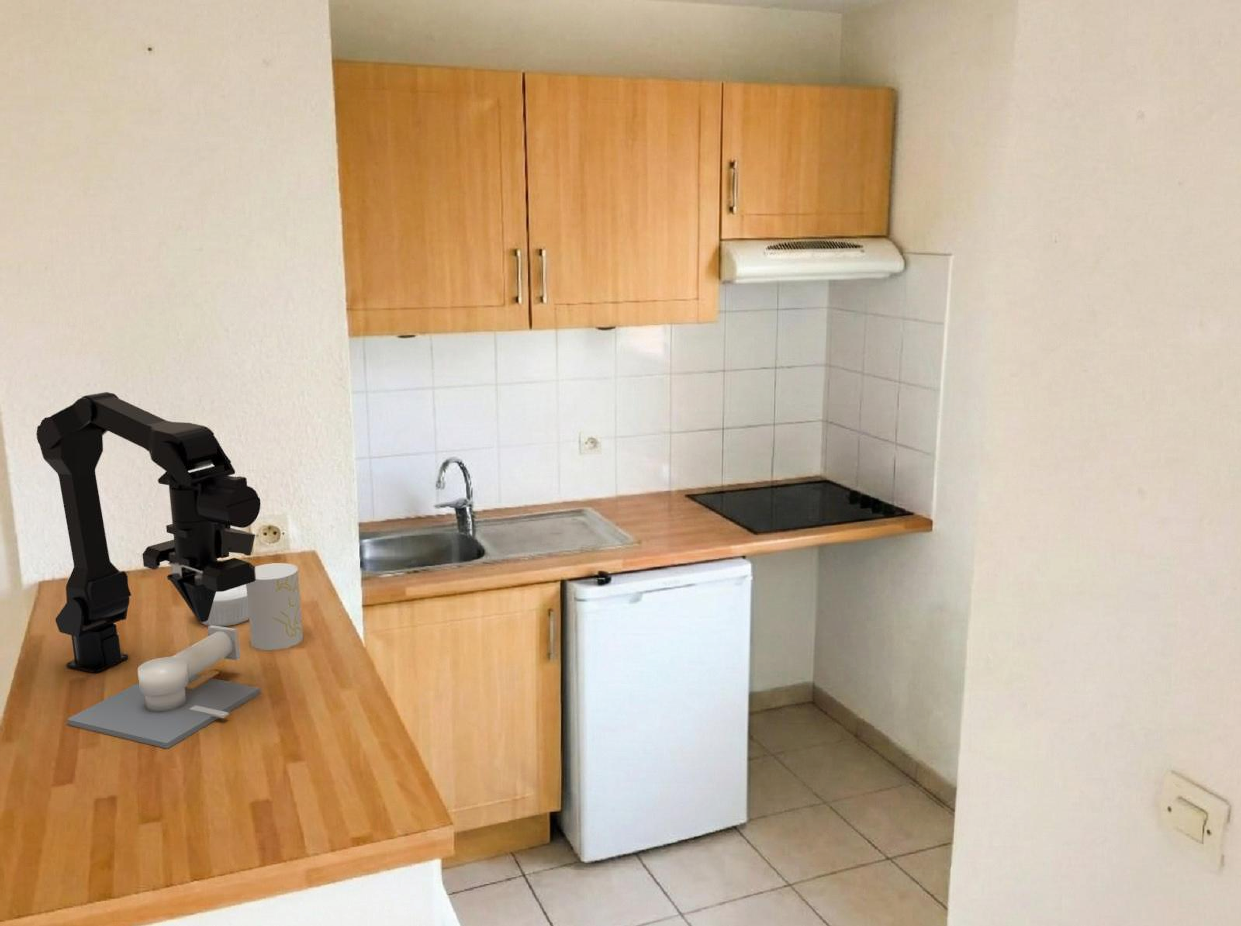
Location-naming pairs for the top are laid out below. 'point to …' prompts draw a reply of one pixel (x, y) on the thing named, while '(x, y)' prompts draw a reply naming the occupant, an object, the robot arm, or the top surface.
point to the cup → (275, 607)
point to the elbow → (188, 662)
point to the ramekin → (229, 607)
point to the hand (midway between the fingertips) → (203, 621)
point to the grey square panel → (164, 711)
